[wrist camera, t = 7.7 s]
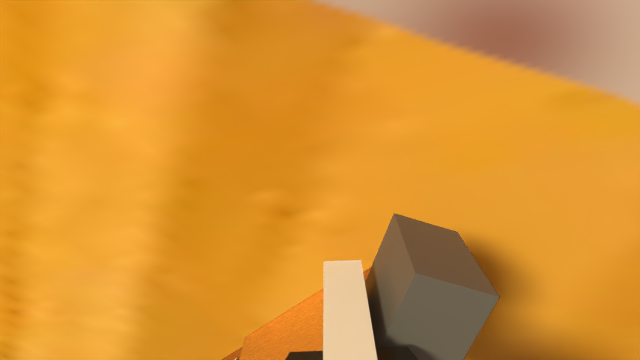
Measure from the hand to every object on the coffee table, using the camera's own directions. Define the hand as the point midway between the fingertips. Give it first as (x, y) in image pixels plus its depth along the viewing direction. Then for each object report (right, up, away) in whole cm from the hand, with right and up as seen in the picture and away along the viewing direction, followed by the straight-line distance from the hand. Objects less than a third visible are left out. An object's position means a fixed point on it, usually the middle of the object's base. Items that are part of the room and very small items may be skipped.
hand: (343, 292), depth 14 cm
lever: (+1, -4, +3) cm, 5 cm away
